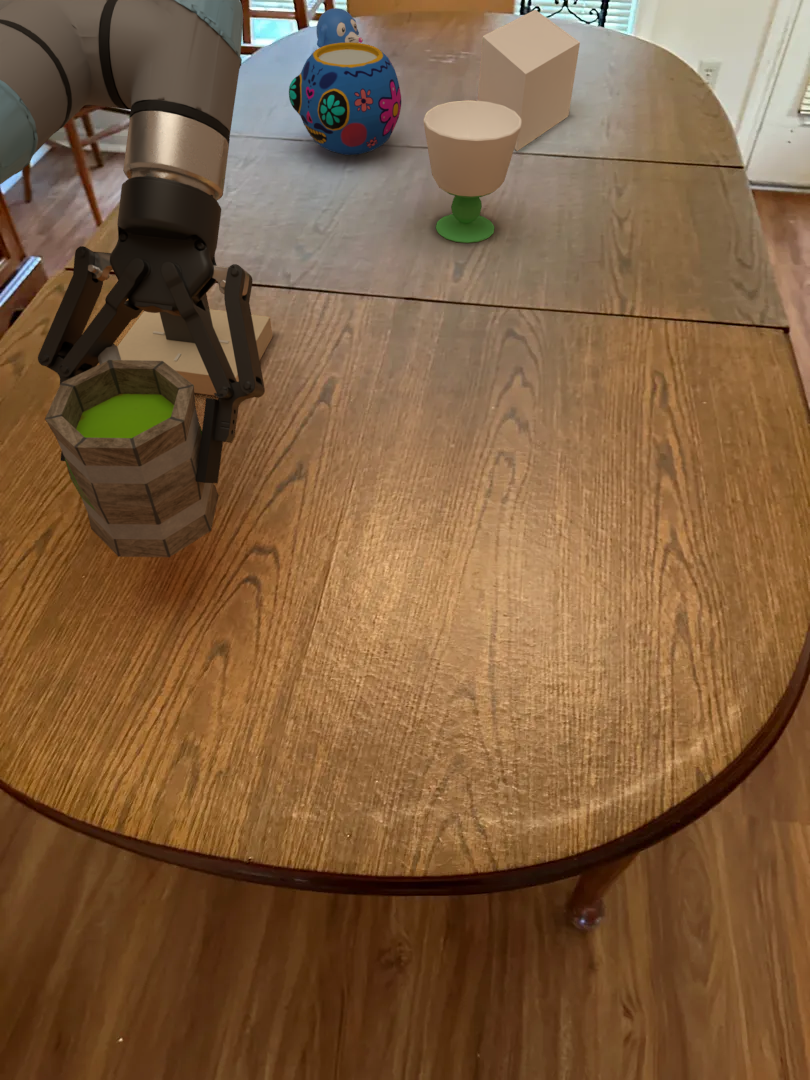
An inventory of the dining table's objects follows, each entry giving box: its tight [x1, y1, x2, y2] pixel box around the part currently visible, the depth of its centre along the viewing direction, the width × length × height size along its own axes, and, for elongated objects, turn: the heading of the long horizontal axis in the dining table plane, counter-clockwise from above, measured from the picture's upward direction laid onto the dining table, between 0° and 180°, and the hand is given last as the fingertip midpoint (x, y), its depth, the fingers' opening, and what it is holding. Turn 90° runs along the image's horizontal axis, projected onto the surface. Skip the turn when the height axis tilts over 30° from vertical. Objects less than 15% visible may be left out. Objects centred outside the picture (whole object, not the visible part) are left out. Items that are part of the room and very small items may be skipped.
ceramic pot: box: [288, 42, 402, 156], centre depth 133 cm, size 18×18×15 cm
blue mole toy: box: [315, 7, 364, 49], centre depth 166 cm, size 12×12×8 cm
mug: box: [44, 343, 220, 558], centre depth 64 cm, size 16×11×12 cm
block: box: [477, 9, 581, 152], centre depth 146 cm, size 18×35×12 cm, turn 171°
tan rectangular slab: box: [116, 308, 273, 397], centre depth 97 cm, size 16×13×3 cm
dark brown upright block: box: [160, 293, 213, 343], centre depth 93 cm, size 6×2×8 cm, turn 79°
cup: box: [422, 99, 522, 244], centre depth 114 cm, size 14×14×16 cm
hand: (139, 472), depth 63 cm, fingers closed on mug, 11 cm apart
